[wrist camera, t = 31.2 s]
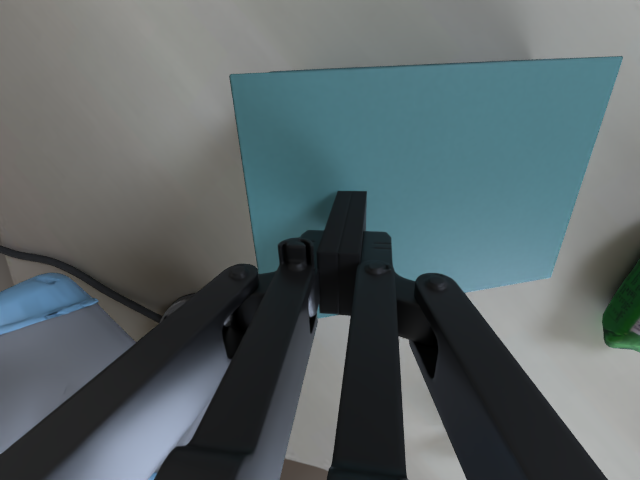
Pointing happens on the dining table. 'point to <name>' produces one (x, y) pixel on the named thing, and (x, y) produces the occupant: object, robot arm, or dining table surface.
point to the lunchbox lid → (426, 159)
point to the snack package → (624, 314)
